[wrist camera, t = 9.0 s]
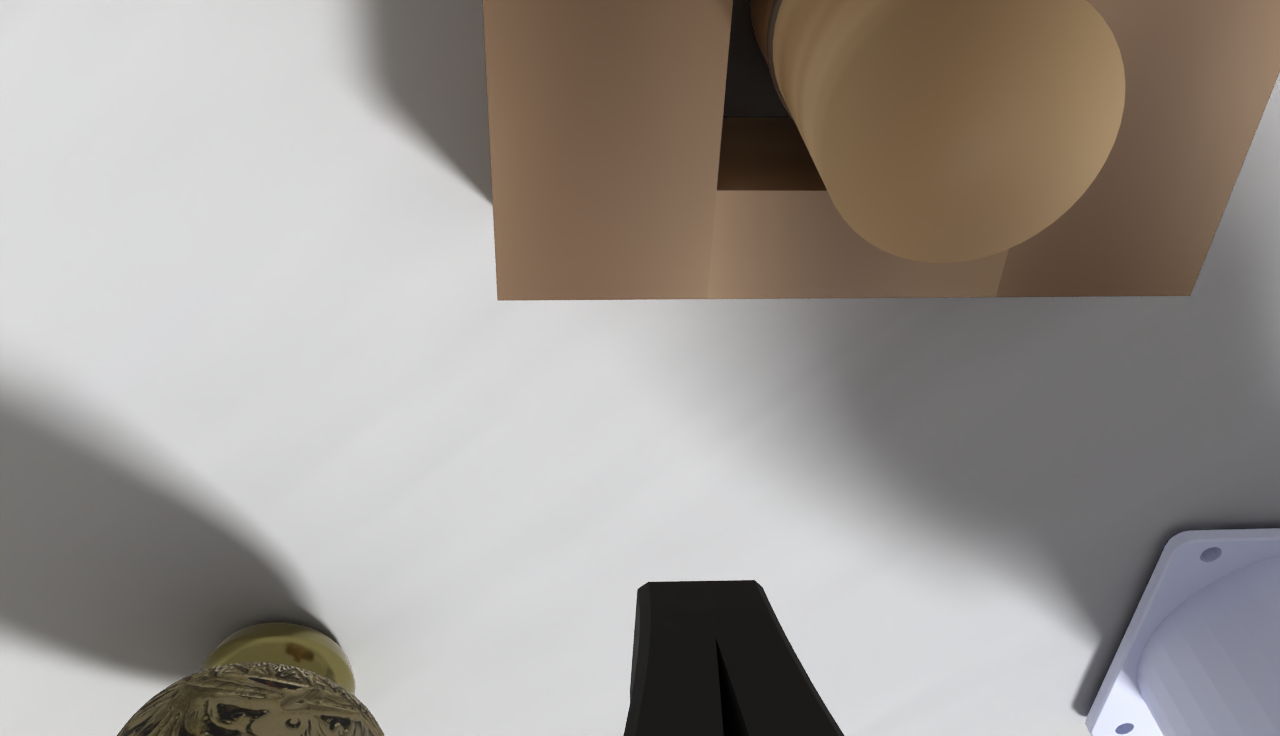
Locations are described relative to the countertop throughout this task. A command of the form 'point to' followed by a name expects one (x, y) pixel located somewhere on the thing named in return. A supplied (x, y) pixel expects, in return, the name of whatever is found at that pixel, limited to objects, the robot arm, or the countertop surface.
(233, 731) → the cup
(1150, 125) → the board
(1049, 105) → the peg
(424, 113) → the countertop surface
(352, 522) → the countertop surface
